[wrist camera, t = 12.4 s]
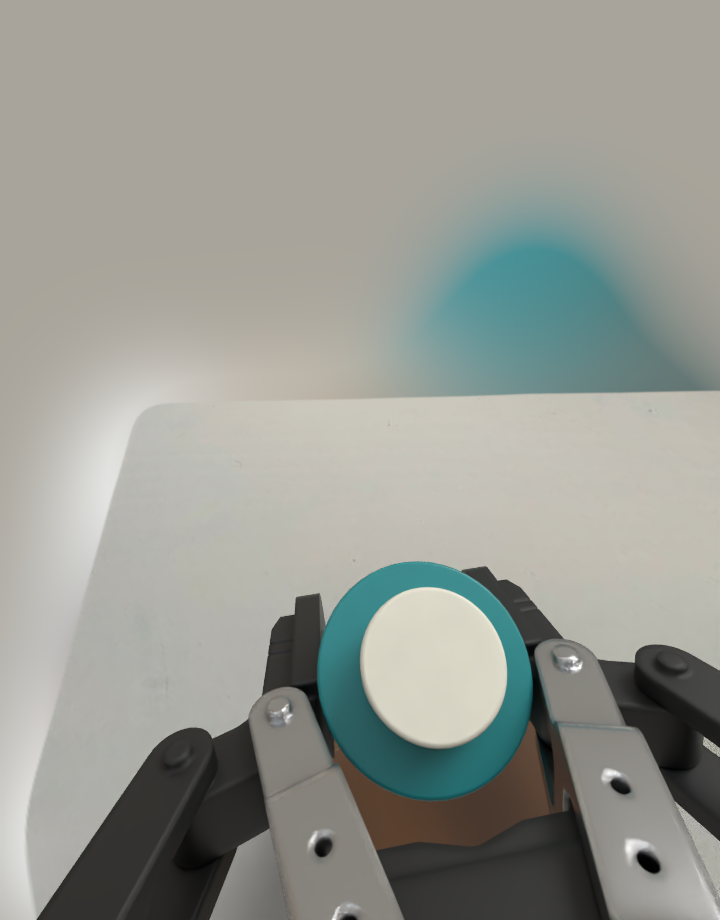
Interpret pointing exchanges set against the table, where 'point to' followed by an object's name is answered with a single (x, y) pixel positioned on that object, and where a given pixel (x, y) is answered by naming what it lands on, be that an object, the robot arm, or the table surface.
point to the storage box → (452, 805)
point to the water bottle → (424, 681)
